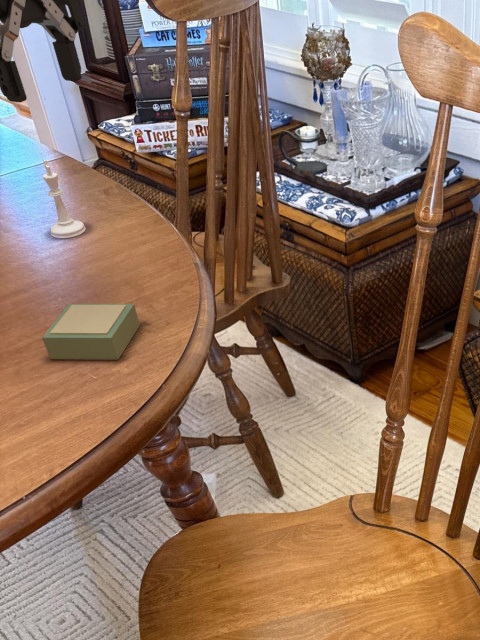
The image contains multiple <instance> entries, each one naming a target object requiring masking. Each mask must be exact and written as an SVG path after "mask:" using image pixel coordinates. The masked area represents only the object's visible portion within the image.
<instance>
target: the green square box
mask: <svg viewBox="0 0 480 640" xmlns="http://www.w3.org/2000/svg"><path fill="white" fill-rule="evenodd" d="M140 326H141V323H140V319H139V316H138V312H137V310H136V306H135V304H134V303H68V304H67V306H66V307H65V308H64V310H63V311H62V312H61V313H60V315H58V317H57V319H55V321H54V322H53V323H52V325H50V327H49V328H48V329H47V331H46V332H45V333H44V334H43V336H42V337H41V339H42V341H43V343H44V346H45V348H46V352H47V354H48V356H49V359H50V360H83V361H84V360H90V361H91V360H94V361H96V360H97V361H99V360H101V361H104V360H107V361H119V359H120V358H121V356H122V355H123V353H124V352H125V350H126V349H127V346H128V345H129V344H130V342H131V340H132V339H133V337H134V336H135V334H136V333H137V331H138V329H139V328H140Z"/></svg>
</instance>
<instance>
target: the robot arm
mask: <svg viewBox="0 0 480 640" xmlns="http://www.w3.org/2000/svg"><path fill="white" fill-rule="evenodd" d="M67 8H68V9H67ZM0 22H1V23H2V24H0V91H1V94H2V95H3V96H4V97H5V98H6V99H7V101H9V102H11V103H23V102H25V101H27V99H28V98H27V97H28V96H27V94H26V91H25V88H24V84H23V81H22V78H21V75H20V72H19V69H18V67H17V63H16V61H15V60H12V59H13V52H14V46H15V41H16V40H17V39H18V38H19V36H20V29H25V28H28V27H30V26H31V25H32V24H37V25H39V26H41V27H42V28H43V29H44V30H45V31H46V33H47V34H48V35H49V36H50V37H51V38H52V39H53V40H55V41H52V46H53V50H54V53H55V56H56V60H57V63H58V67H59V71H60V74H61V77H62V78H63V80H64V81H67V82H78V81H80V80H82V66H81V62H80V59H79V55H78V52H77V47H76V44H75V40H76V35H77V33H78V32H79V31H84V30H85V27H86V24H85V20H84V17H83V14H82V9H81V7H80V4H79V0H0Z"/></svg>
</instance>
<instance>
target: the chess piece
mask: <svg viewBox="0 0 480 640" xmlns="http://www.w3.org/2000/svg"><path fill="white" fill-rule="evenodd" d="M43 166H44V169H45V170H46V173H44V174H43V176H42V179H43V180H44V182H45V183H46V184H47V186H48V188H49V189H50V190H49V191H48V192H47V195H48V196H49V197H53V200H54V205H55V209H56V214H57V220H56V223H55V224H53V225H52V226H51V227H50V234H51V236H52V237H53V238H56V239H70V238H75V237H77V236H80V235H82V234H84V233H85V232H86V226H85V224H84V222H82V221H80V220H76V219H74V218H72V217H71V216H70V214H69V212H68V210H67V208H66V205H65V203H64V201H63V199H62V197H61V196H62V195H64V193H65V191H63V189H60V188H59V176H58V175H59V174H58V173H56V172H52V171H51V170H52V169H51V166H50V165H49V162H48V160H47V159H45V160H43Z"/></svg>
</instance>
